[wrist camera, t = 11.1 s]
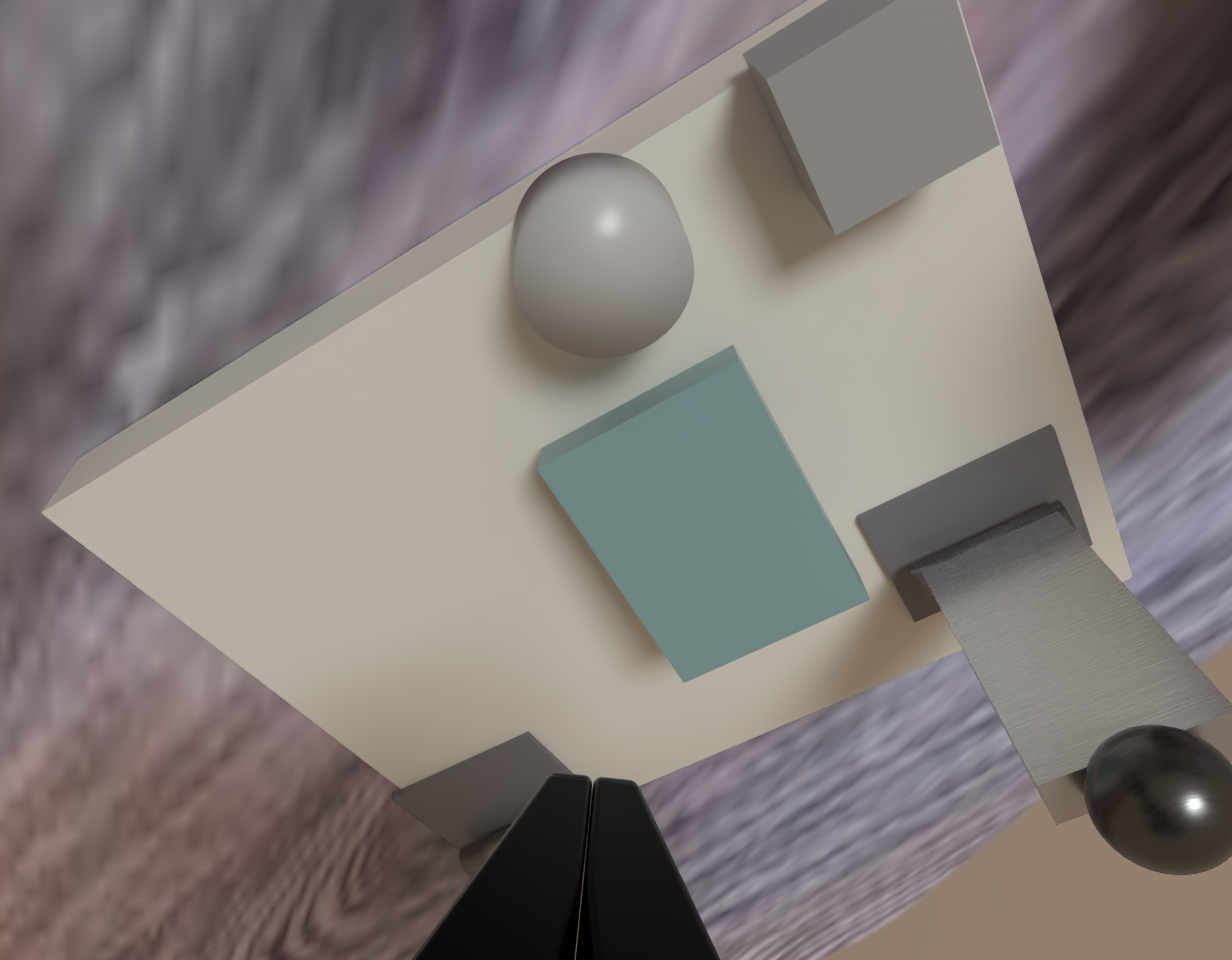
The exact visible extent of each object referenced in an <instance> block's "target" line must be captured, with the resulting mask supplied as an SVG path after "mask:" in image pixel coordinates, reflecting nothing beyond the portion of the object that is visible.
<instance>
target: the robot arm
mask: <svg viewBox="0 0 1232 960" xmlns="http://www.w3.org/2000/svg"><path fill="white" fill-rule="evenodd" d="M591 793H592V799H591ZM590 803H591V809H590ZM589 813H590V819H589ZM588 823H589V828H588ZM587 833H588V838H587ZM586 843H587V848H586ZM585 853H586V858H585ZM584 863H585V868H584ZM583 874H584V878H583ZM582 883H583V889H582ZM581 893H582V899H581ZM580 903H581V909H580ZM579 913H580V919H579ZM578 923H579V929H578ZM577 933H578V939H577ZM576 943H577V949H576ZM575 953H576V959H575ZM412 960H720V958H719V956H718V954H717V952H716V949H715V947H714V945H713V943H712V941H711V939H710V937H709V935H708V932H707V930H706V928H705V926H704V924H703V922H702V920H701V917H700V915H699V913H698V911H697V909H696V907H695V905H694V903H693V900H692V898H691V896H690V894H689V892H688V890H687V888H686V886H685V883H684V881H683V879H682V877H681V875H680V873H679V871H678V869H677V866H676V864H675V862H674V860H673V858H672V856H671V854H670V852H669V849H668V847H667V845H666V843H665V841H664V839H663V837H662V834H661V832H660V830H659V828H658V826H657V824H656V822H655V820H654V817H653V815H652V813H651V811H650V809H649V807H648V805H647V803H646V800H645V798H644V796H643V794H642V792H641V790H640V788H639V786H638V785H637V783H635V782H634V781H632V780H626V779H616V778H607V777H599V778H597V779H596V780H595V781H594V783H593V789H592V780H591V778H589V777H588V776H586V775H577V774H568V773H558V772H557V773H552V774H550V775H549V776H548V777H547V778H546V779H545V780H544V782H543V783H542V784H541V786H540V787H539V788H538V790H537V791H536V792H535V794H534V795H533V797H532V798H531V799H530V801H529V802H528V803H527V805H526V806H525V807H524V809H523V810H522V811H521V813H520V814H519V815H518V817H517V818H516V820H515V821H514V822H513V824H512V825H511V826H510V828H509V829H508V830H507V832H506V833H505V834H504V836H503V837H502V838H501V840H500V841H499V843H498V844H497V845H496V847H495V848H494V849H493V851H492V852H491V853H490V855H489V856H488V857H487V859H486V860H485V861H484V863H483V864H482V865H481V867H480V868H479V870H478V871H477V872H476V874H475V875H474V876H473V878H472V879H471V880H470V882H469V883H468V884H467V886H466V887H465V888H464V890H463V891H462V893H461V894H460V895H459V897H458V898H457V899H456V901H455V902H454V903H453V905H452V906H451V907H450V909H449V910H448V911H447V913H446V914H445V916H444V917H443V918H442V920H441V921H440V922H439V924H438V925H437V926H436V928H435V929H434V930H433V932H432V933H431V934H430V936H429V937H428V938H427V940H426V941H425V943H424V944H423V945H422V947H421V948H420V949H419V951H418V952H417V953H416V955H415V956H414V957H413V959H412Z"/></svg>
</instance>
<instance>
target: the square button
mask: <svg viewBox="0 0 1232 960" xmlns="http://www.w3.org/2000/svg"><path fill="white" fill-rule="evenodd" d="M742 55H743V57H744V59H745V62H746V64H747V66H748V68H749V70H750V73H751V75H752V77H753V79H754V81H755V84H756V86H757V88H758V90H759V92H760V95H761V97H762V99H763V101H764V103H765V106H766V108H767V110H768V112H769V114H770V117H771V119H772V121H773V123H774V125H775V128H776V130H777V132H778V134H779V136H780V139H781V141H782V143H783V145H784V147H785V150H786V152H787V154H788V156H789V158H790V161H791V163H792V165H793V167H794V170H795V172H796V174H797V176H798V178H799V181H800V183H801V185H802V187H803V189H804V192H805V194H806V196H807V198H808V200H809V201H810V202H811V204H812V205H813V206H814V208H815V209H816V210H817V212H818V213H819V214H820V216H821V217H822V218H823V219H824V221H825V222H826V223H827V225H828V226H829V227H830V229H831V230H832V231H833V233H834V234H835V235H836V236H837V235H838V234H840V233H842V232H844V231H846V230H847V229H849V228H851V227H853V226H855V225H856V224H858V223H860V222H862V221H864V220H865V219H867V218H869V217H871V216H873V215H874V214H876V213H878V212H880V211H882V210H883V209H885V208H887V207H889V206H891V205H892V204H894V203H896V202H898V201H900V200H901V199H903V198H905V197H907V196H909V195H910V194H912V193H914V192H916V191H918V190H919V189H921V188H923V187H925V186H927V185H928V184H930V183H932V182H934V181H936V180H937V179H939V178H941V177H943V176H945V175H946V174H948V173H950V172H952V171H954V170H955V169H957V168H959V167H961V166H963V165H964V164H966V163H968V162H970V161H971V160H973V159H975V158H977V157H979V156H980V155H982V154H984V153H986V152H988V151H989V150H991V149H993V148H995V147H997V146H998V145H1000V142H999V139H998V135H997V132H996V129H995V126H994V122H993V119H992V116H991V112H990V109H989V106H988V102H987V99H986V96H985V93H984V89H983V86H982V83H981V79H980V76H979V73H978V69H977V66H976V63H975V60H974V56H973V53H972V50H971V46H970V43H969V40H968V36H967V33H966V30H965V27H964V23H963V20H962V17H961V13H960V10H959V7H958V3H957V0H828V1H826V2H824V3H823V4H821V5H820V6H818V7H816V8H815V9H813V10H812V11H810V12H808V13H807V14H805V15H804V16H802V17H800V18H799V19H797V20H796V21H794V22H792V23H791V24H789V25H788V26H786V27H784V28H783V29H781V30H780V31H778V32H776V33H775V34H773V35H772V36H770V37H768V38H767V39H765V40H764V41H762V42H760V43H759V44H757V45H756V46H754V47H752V48H751V49H749V50H748V51H746V52H744V53H743V54H742Z"/></svg>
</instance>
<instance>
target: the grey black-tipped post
mask: <svg viewBox="0 0 1232 960" xmlns="http://www.w3.org/2000/svg"><path fill="white" fill-rule="evenodd" d="M909 569H910V570H911V572H912V574H913V576H914V578H915V580H916V582H917V584H918V586H919V588H920V590H921V592H922V594H923V596H924V597H925V598H926V597H928V596H931V595H933V596H934V598H935V599H936V601H937V603H938V605H939V607H940V609H941V611H942V613H943V615H944V616H945V618H946V620H947V622H948V624H949V626H950V628H951V629H952V631H953V633H954V635H955V637H956V639H957V641H958V642H959V644H960V646H961V648H962V650H963V652H964V654H965V655H966V657H967V659H968V661H969V663H970V665H971V667H972V669H973V670H974V672H975V674H976V676H977V678H978V680H979V682H980V683H981V685H982V687H983V689H984V691H985V693H986V695H987V696H988V698H989V700H990V702H991V704H992V706H993V708H994V709H995V711H996V713H997V715H998V717H999V719H1000V721H1001V722H1002V724H1003V726H1004V728H1005V730H1006V732H1007V734H1008V736H1009V737H1010V739H1011V741H1012V743H1013V745H1014V747H1015V749H1016V750H1017V752H1018V754H1019V756H1020V758H1021V760H1022V762H1023V763H1024V765H1025V767H1026V769H1027V771H1028V773H1029V775H1030V776H1031V778H1032V780H1033V782H1034V784H1035V786H1036V788H1037V789H1038V791H1039V793H1040V795H1041V797H1042V799H1043V801H1044V803H1045V804H1046V806H1047V808H1048V810H1049V812H1050V814H1051V816H1052V817H1053V819H1054V821H1055V823H1056V825H1058V824H1061V823H1063V822H1066V821H1069V820H1071V819H1074V818H1077V817H1079V816H1082V815H1085V814H1088V813H1089V816H1090V818H1091V820H1092V822H1093V824H1094V825H1095V827H1096V829H1097V830H1098V832H1099V833H1100V835H1101V836H1102V837H1103V838H1104V839H1105V840H1106V841H1107V842H1108V844H1109V845H1110V846H1111V847H1112V848H1113V849H1115V850H1116V851H1117V852H1119V853H1120V854H1121V855H1122V856H1123V857H1125V858H1127V859H1128V860H1130V861H1132V862H1133V863H1135V864H1137V865H1139V866H1142V867H1144V868H1146V869H1149V870H1152V871H1156V872H1160V873H1164V874H1171V875H1172V874H1173V875H1190V874H1197V873H1201V872H1205V871H1208V870H1210V869H1213V868H1215V867H1217V866H1219V865H1220V864H1222V863H1223V862H1225V861H1226V860H1228V859H1229V858H1230V857H1231V856H1232V764H1231V763H1230V761H1232V704H1231V703H1230V702H1229V701H1228V699H1227V698H1226V697H1225V696H1224V695H1223V694H1222V693H1221V692H1220V690H1219V689H1218V688H1217V687H1216V686H1215V685H1214V684H1213V683H1212V682H1211V680H1210V679H1209V678H1208V677H1207V676H1206V675H1205V674H1204V673H1203V672H1202V670H1201V669H1200V668H1199V667H1198V666H1197V665H1196V664H1195V663H1194V662H1193V660H1192V659H1191V658H1190V657H1189V656H1188V655H1187V654H1186V653H1185V652H1184V650H1183V649H1182V648H1181V647H1180V646H1179V645H1178V644H1177V643H1176V642H1175V640H1174V639H1173V638H1172V637H1171V636H1170V635H1169V634H1168V633H1167V631H1166V630H1165V629H1164V628H1163V627H1162V626H1161V625H1160V624H1159V623H1158V621H1157V620H1156V619H1155V618H1154V617H1153V616H1152V615H1151V614H1150V613H1149V611H1148V610H1147V609H1146V608H1145V607H1144V606H1143V605H1142V604H1141V603H1140V601H1139V600H1138V599H1137V598H1136V597H1135V596H1134V595H1133V594H1132V593H1131V591H1130V590H1129V589H1128V588H1127V587H1126V586H1125V585H1124V584H1123V583H1122V581H1121V580H1120V579H1119V578H1118V577H1117V576H1116V575H1115V574H1114V573H1113V571H1112V570H1111V569H1110V568H1109V567H1108V566H1107V565H1106V564H1105V563H1104V561H1103V560H1102V559H1101V558H1100V557H1099V556H1098V555H1097V554H1096V553H1095V551H1094V550H1093V549H1092V548H1091V547H1090V546H1089V545H1088V544H1087V543H1086V541H1085V540H1084V539H1083V538H1082V537H1081V536H1080V535H1079V534H1078V533H1077V531H1076V528H1075V525H1074V523H1073V521H1072V519H1071V517H1070V515H1069V513H1068V512H1067V510H1066V508H1065V507H1064V506H1063V504H1062V503H1061V502H1060V501H1059V500H1056V501H1054V502H1051V503H1049V504H1047V505H1045V506H1043V507H1040V508H1038V509H1036V510H1034V511H1031V512H1029V513H1027V514H1025V515H1023V516H1020V517H1018V518H1016V519H1014V520H1012V521H1009V522H1007V523H1005V524H1003V525H1001V526H998V527H996V528H994V529H992V530H989V531H987V532H985V533H983V534H981V535H978V536H976V537H974V538H972V539H970V540H967V541H965V542H963V543H961V544H959V545H956V546H954V547H952V548H950V549H947V550H945V551H943V552H941V553H939V554H936V555H934V556H932V557H930V558H928V559H925V560H923V561H921V562H919V563H917V564H914V565H912V566H910V567H909Z"/></svg>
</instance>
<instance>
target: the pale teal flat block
mask: <svg viewBox="0 0 1232 960" xmlns="http://www.w3.org/2000/svg"><path fill="white" fill-rule="evenodd" d="M537 470H538V472H539V473H540V474H541V476H542V477H543V479H544V480H545V482H546V483H547V485H548V486H549V488H550V489H551V491H552V492H553V493H554V495H555V496H556V498H557V499H558V501H559V502H560V504H561V505H562V507H563V508H564V509H565V511H566V512H567V514H568V515H569V517H570V518H571V520H572V521H573V523H574V524H575V525H576V527H577V528H578V530H579V531H580V533H581V534H582V536H583V537H584V539H585V540H586V541H587V543H588V544H589V546H590V547H591V549H592V550H593V552H594V553H595V555H596V556H597V558H598V559H599V560H600V562H601V563H602V565H603V566H604V568H605V569H606V571H607V572H608V574H609V575H610V576H611V578H612V579H613V581H614V582H615V584H616V585H617V587H618V588H619V590H620V591H621V592H622V594H623V595H624V597H625V598H626V600H627V601H628V603H629V604H630V606H631V607H632V608H633V610H634V611H635V613H636V614H637V616H638V617H639V619H640V620H641V622H642V623H643V625H644V626H645V627H646V629H647V630H648V632H649V633H650V635H651V636H652V638H653V639H654V641H655V642H656V643H657V645H658V646H659V648H660V649H661V651H662V652H663V654H664V655H665V657H666V658H667V659H668V661H669V662H670V664H671V665H672V667H673V668H674V670H675V671H676V673H677V674H678V675H679V677H680V678H681V680H682V681H683V683H685V682H688V681H690V680H692V679H694V678H697V677H699V676H701V675H703V674H706V673H708V672H710V671H712V670H714V669H717V668H719V667H721V666H723V665H726V664H728V663H730V662H732V661H735V660H737V659H739V658H741V657H743V656H746V655H748V654H750V653H752V652H755V651H757V650H759V649H761V648H764V647H766V646H768V645H770V644H773V643H775V642H777V641H779V640H781V639H784V638H786V637H788V636H790V635H793V634H795V633H797V632H799V631H802V630H804V629H806V628H808V627H810V626H813V625H815V624H817V623H819V622H822V621H824V620H826V619H828V618H831V617H833V616H835V615H837V614H839V613H842V612H844V611H846V610H848V609H851V608H853V607H855V606H857V605H860V604H862V603H864V602H866V601H868V600H870V599H869V596H868V594H867V591H866V589H865V587H864V584H863V582H862V580H861V577H860V575H859V573H858V571H857V569H856V567H855V566H854V564H853V562H852V560H851V558H850V556H849V555H848V553H847V551H846V549H845V547H844V545H843V544H842V542H841V540H840V538H839V536H838V535H837V533H836V531H835V529H834V527H833V525H832V524H831V522H830V520H829V518H828V516H827V514H826V513H825V511H824V509H823V507H822V505H821V504H820V502H819V500H818V498H817V496H816V494H815V493H814V491H813V489H812V487H811V485H810V483H809V482H808V480H807V478H806V476H805V474H804V473H803V471H802V469H801V467H800V465H799V463H798V462H797V460H796V458H795V456H794V454H793V452H792V451H791V449H790V447H789V445H788V443H787V441H786V440H785V438H784V436H783V434H782V432H781V431H780V429H779V427H778V425H777V423H776V421H775V420H774V418H773V416H772V414H771V412H770V410H769V409H768V407H767V405H766V403H765V401H764V400H763V398H762V396H761V394H760V392H759V390H758V389H757V387H756V385H755V383H754V381H753V379H752V378H751V376H750V374H749V372H748V370H747V369H746V367H745V365H744V363H743V361H742V359H741V358H740V356H739V354H738V352H737V350H736V348H735V347H734V345H731V346H729V347H727V348H726V349H724V350H722V351H720V352H718V353H716V354H714V355H713V356H711V357H709V358H707V359H705V360H703V361H702V362H700V363H698V364H696V365H694V366H692V367H690V368H689V369H687V370H685V371H683V372H681V373H679V374H678V375H676V376H674V377H672V378H670V379H668V380H666V381H665V382H663V383H661V384H659V385H657V386H655V387H653V388H652V389H650V390H648V391H646V392H644V393H642V394H641V395H639V396H637V397H635V398H633V399H631V400H629V401H628V402H626V403H624V404H622V405H620V406H618V407H617V408H615V409H613V410H611V411H609V412H607V413H605V414H604V415H602V416H600V417H598V418H596V419H594V420H592V421H591V422H589V423H587V424H585V425H583V426H581V427H580V428H578V429H576V430H574V431H572V432H570V433H568V434H567V435H565V436H563V437H561V438H559V439H557V440H556V441H554V442H552V443H550V444H548V445H546V446H544V447H543V448H541V452H540V457H539V461H538V465H537Z"/></svg>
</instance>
